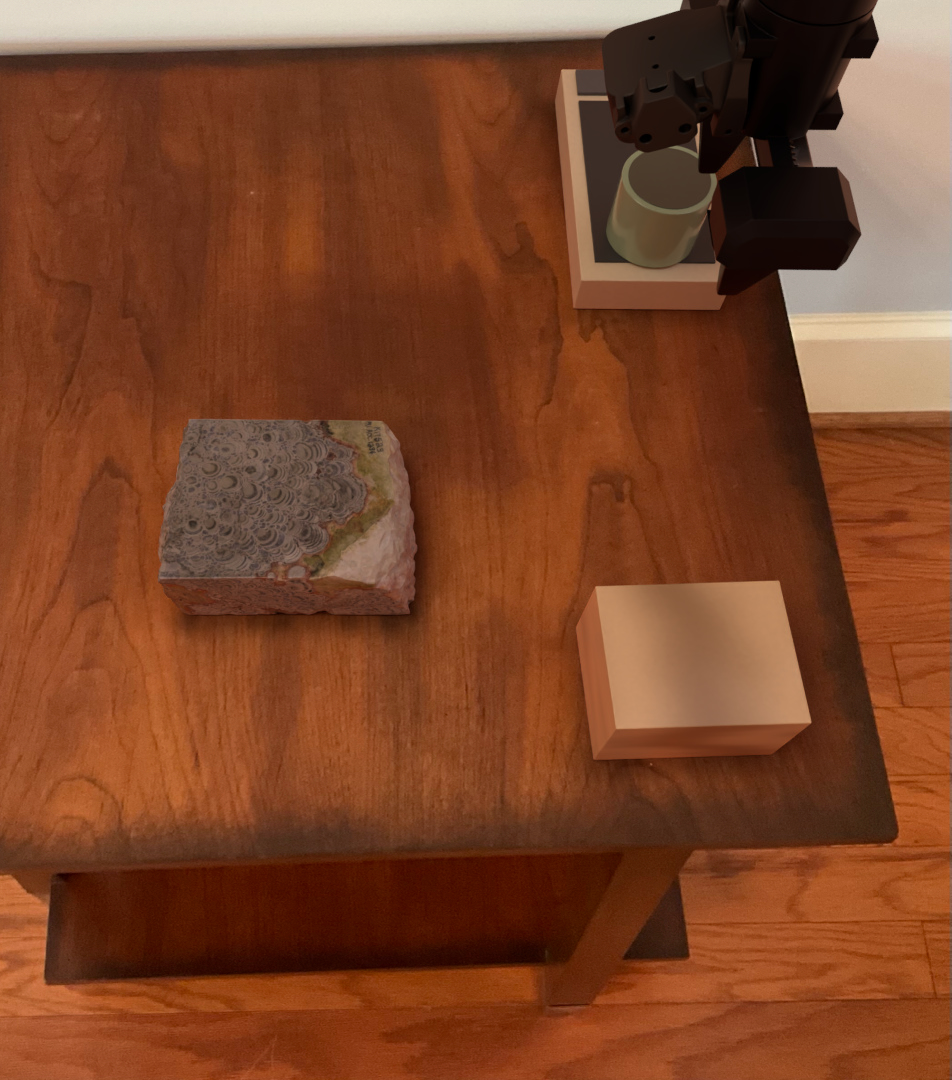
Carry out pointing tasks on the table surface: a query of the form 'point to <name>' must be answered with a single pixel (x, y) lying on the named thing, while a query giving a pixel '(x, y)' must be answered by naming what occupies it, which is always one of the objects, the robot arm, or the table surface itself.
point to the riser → (689, 670)
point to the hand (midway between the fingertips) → (716, 230)
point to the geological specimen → (288, 520)
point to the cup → (659, 207)
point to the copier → (588, 200)
